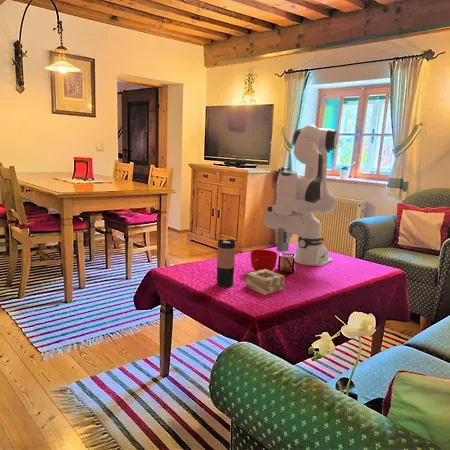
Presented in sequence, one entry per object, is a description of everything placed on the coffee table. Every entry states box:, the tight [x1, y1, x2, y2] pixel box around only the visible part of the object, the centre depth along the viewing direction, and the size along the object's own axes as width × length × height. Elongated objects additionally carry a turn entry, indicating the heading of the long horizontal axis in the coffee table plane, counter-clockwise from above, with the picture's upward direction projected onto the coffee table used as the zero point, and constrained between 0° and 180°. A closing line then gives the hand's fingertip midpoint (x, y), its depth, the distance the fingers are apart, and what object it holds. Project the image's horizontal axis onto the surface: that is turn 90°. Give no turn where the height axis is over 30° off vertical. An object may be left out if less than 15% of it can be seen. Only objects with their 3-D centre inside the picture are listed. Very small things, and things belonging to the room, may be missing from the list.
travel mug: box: [216, 238, 236, 288], centre depth 177 cm, size 8×8×20 cm
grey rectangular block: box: [276, 228, 290, 253], centre depth 172 cm, size 4×3×10 cm
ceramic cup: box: [250, 249, 278, 272], centre depth 196 cm, size 13×17×10 cm
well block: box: [245, 269, 286, 296], centre depth 177 cm, size 12×12×6 cm
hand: (283, 241), depth 172 cm, fingers closed on grey rectangular block, 3 cm apart
